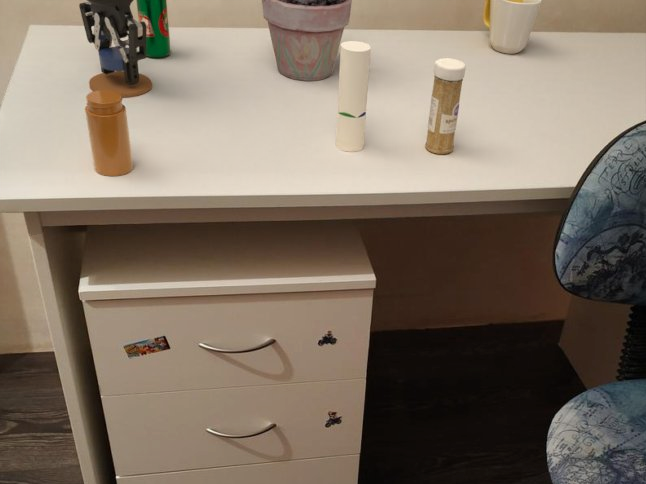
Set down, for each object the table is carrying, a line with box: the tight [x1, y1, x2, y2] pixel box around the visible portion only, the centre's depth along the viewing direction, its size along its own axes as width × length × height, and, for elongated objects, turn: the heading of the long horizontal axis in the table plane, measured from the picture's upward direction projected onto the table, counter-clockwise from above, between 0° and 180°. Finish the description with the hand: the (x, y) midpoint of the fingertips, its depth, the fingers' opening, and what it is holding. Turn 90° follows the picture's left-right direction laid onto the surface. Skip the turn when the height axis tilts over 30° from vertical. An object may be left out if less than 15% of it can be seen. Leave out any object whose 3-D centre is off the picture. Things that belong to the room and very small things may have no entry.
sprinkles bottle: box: [424, 57, 467, 155], centre depth 122 cm, size 5×5×14 cm
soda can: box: [135, 0, 172, 59], centre depth 142 cm, size 5×5×12 cm
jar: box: [84, 90, 134, 177], centre depth 109 cm, size 5×5×10 cm
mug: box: [482, 0, 543, 55], centre depth 164 cm, size 14×10×10 cm
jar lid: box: [98, 46, 129, 71], centre depth 131 cm, size 6×6×2 cm
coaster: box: [88, 71, 153, 98], centre depth 134 cm, size 10×10×1 cm
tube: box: [335, 40, 372, 153], centre depth 120 cm, size 4×4×15 cm
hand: (120, 77), depth 133 cm, fingers closed on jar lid, 5 cm apart
